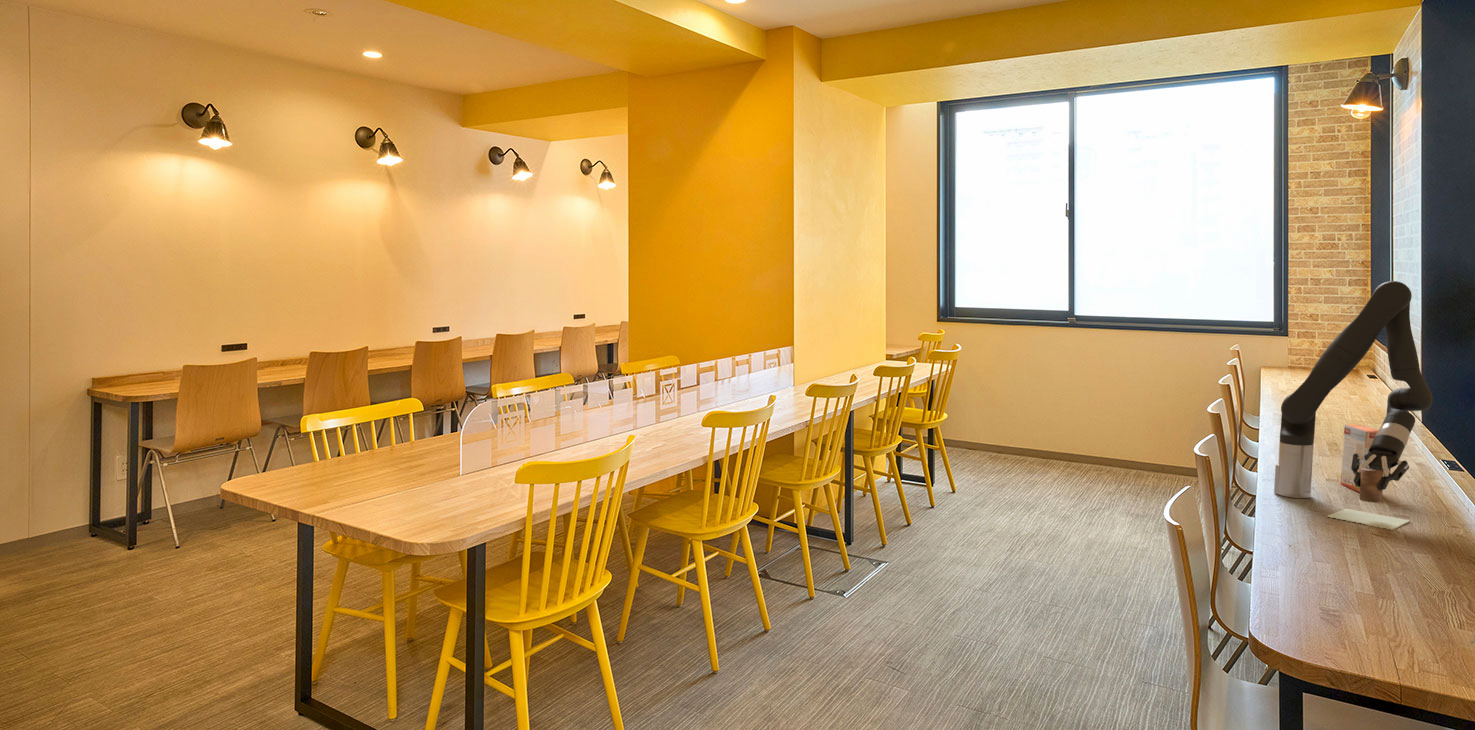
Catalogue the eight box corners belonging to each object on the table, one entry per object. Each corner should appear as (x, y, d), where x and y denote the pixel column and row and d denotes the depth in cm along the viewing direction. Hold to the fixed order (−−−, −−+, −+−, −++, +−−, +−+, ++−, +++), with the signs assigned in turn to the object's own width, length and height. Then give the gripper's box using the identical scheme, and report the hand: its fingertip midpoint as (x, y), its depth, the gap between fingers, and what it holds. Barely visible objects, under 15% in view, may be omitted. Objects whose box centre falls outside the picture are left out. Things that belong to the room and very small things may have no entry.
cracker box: (1381, 495, 275) (1386, 431, 273) (1360, 494, 276) (1365, 430, 274) (1359, 484, 289) (1363, 424, 287) (1339, 484, 290) (1343, 423, 288)
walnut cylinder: (1356, 500, 247) (1358, 469, 246) (1363, 497, 250) (1364, 467, 249) (1377, 503, 243) (1379, 472, 242) (1384, 500, 246) (1386, 470, 245)
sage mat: (1327, 517, 250) (1327, 516, 250) (1345, 509, 258) (1345, 508, 258) (1392, 530, 237) (1392, 528, 237) (1410, 521, 245) (1410, 520, 245)
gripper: (1358, 430, 255) (1336, 474, 250) (1415, 437, 242) (1393, 484, 237) (1366, 446, 258) (1344, 490, 253) (1422, 453, 245) (1401, 499, 241)
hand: (1368, 486), depth 245 cm, fingers closed on walnut cylinder, 5 cm apart
